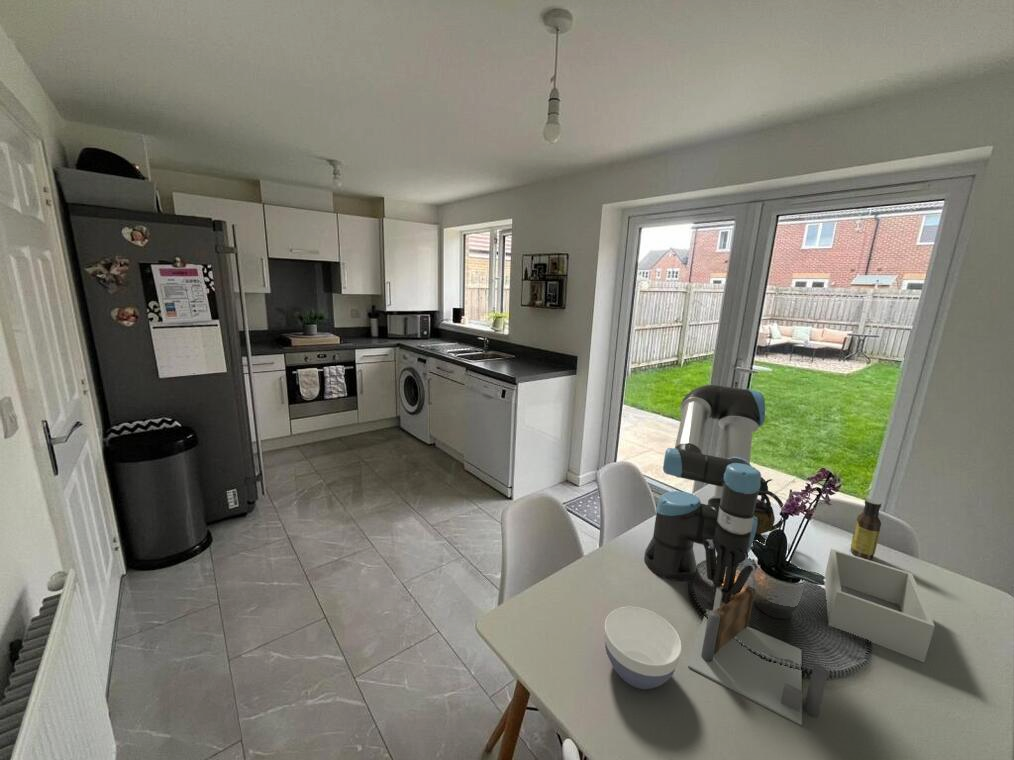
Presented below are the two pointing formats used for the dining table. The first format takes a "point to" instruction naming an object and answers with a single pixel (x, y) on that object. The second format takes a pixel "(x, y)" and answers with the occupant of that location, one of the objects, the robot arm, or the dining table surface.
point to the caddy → (872, 620)
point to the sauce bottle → (867, 531)
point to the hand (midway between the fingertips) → (718, 610)
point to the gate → (734, 617)
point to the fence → (758, 670)
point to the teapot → (765, 512)
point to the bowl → (641, 646)
